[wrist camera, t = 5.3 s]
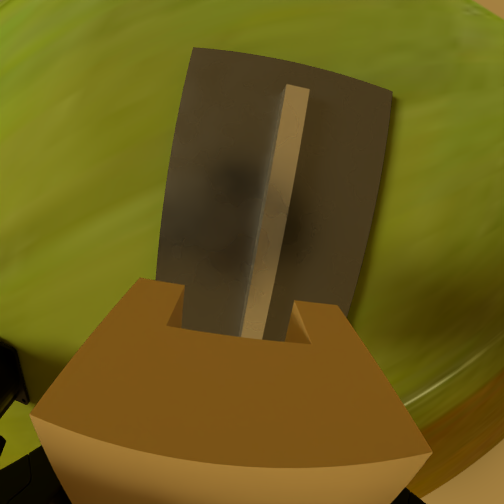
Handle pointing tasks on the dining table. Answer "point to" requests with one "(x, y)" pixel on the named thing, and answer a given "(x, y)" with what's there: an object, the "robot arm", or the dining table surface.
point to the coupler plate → (269, 190)
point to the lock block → (225, 412)
